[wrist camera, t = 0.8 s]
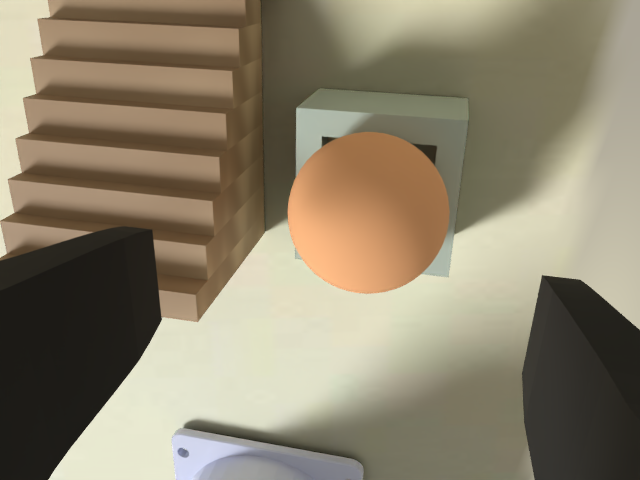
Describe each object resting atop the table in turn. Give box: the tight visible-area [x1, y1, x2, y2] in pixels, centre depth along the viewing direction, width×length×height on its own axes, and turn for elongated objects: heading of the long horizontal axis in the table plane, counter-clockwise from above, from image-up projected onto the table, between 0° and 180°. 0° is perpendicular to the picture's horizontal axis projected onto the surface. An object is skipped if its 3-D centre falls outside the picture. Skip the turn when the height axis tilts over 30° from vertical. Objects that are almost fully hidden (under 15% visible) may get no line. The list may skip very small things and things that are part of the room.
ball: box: [288, 132, 450, 293], centre depth 15 cm, size 4×4×4 cm
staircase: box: [0, 0, 265, 322], centre depth 17 cm, size 8×6×6 cm
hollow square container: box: [295, 88, 469, 277], centre depth 17 cm, size 4×4×3 cm
